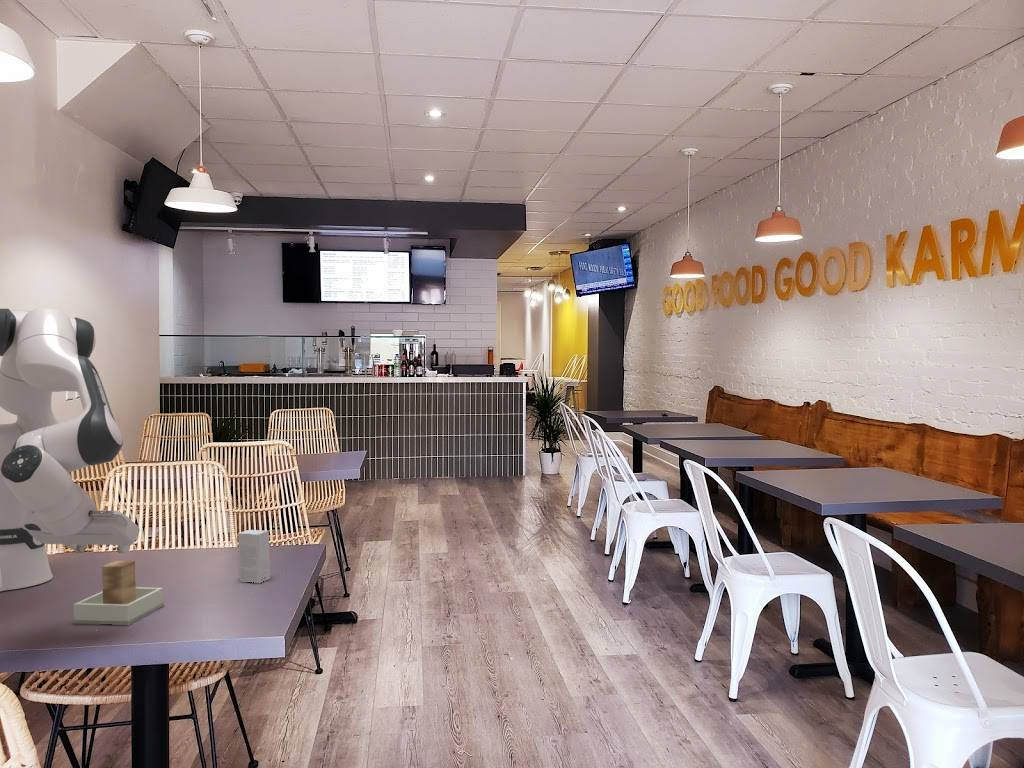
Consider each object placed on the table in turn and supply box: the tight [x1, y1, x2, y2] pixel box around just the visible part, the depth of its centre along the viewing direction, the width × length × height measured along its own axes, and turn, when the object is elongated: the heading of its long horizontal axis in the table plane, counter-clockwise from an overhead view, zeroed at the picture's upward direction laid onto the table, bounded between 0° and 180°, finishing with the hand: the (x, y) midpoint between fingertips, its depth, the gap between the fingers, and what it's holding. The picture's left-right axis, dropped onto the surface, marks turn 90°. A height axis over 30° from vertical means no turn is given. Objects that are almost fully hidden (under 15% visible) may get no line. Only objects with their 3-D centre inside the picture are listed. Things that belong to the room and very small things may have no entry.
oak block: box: [101, 560, 137, 604], centre depth 156 cm, size 4×4×10 cm
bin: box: [73, 586, 165, 626], centre depth 156 cm, size 12×12×4 cm
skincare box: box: [237, 529, 271, 584], centre depth 179 cm, size 6×4×12 cm
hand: (103, 550), depth 151 cm, fingers open, 8 cm apart
